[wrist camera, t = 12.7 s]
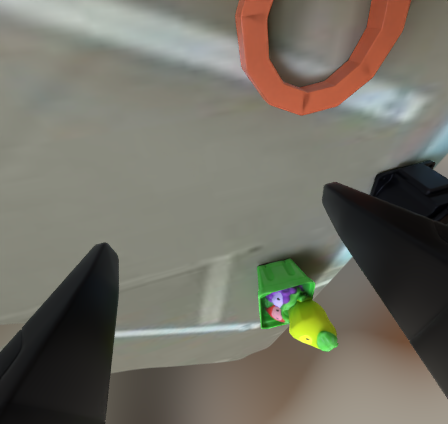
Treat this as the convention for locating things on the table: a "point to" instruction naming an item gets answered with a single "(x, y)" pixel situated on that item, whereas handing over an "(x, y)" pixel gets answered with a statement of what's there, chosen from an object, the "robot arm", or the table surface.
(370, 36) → the ring
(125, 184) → the table surface
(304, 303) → the fruit basket
